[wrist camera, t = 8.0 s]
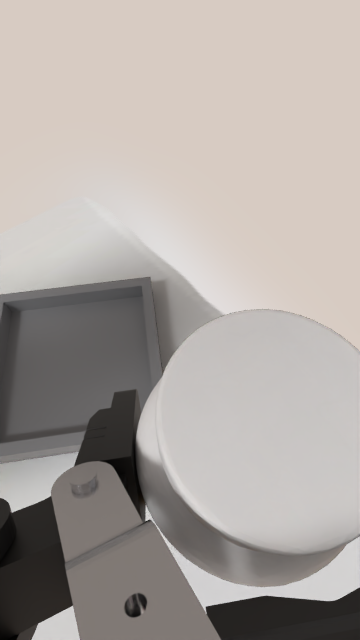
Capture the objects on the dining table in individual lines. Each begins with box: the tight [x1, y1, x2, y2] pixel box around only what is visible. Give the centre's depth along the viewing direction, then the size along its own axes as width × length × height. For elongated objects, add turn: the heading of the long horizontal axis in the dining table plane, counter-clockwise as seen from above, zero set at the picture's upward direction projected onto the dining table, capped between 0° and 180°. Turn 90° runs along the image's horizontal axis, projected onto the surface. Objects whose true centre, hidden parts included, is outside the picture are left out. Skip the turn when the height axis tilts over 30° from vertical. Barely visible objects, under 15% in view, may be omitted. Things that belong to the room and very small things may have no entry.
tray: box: [0, 277, 163, 463], centre depth 32 cm, size 16×16×2 cm
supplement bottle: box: [135, 309, 360, 587], centre depth 10 cm, size 5×5×10 cm
